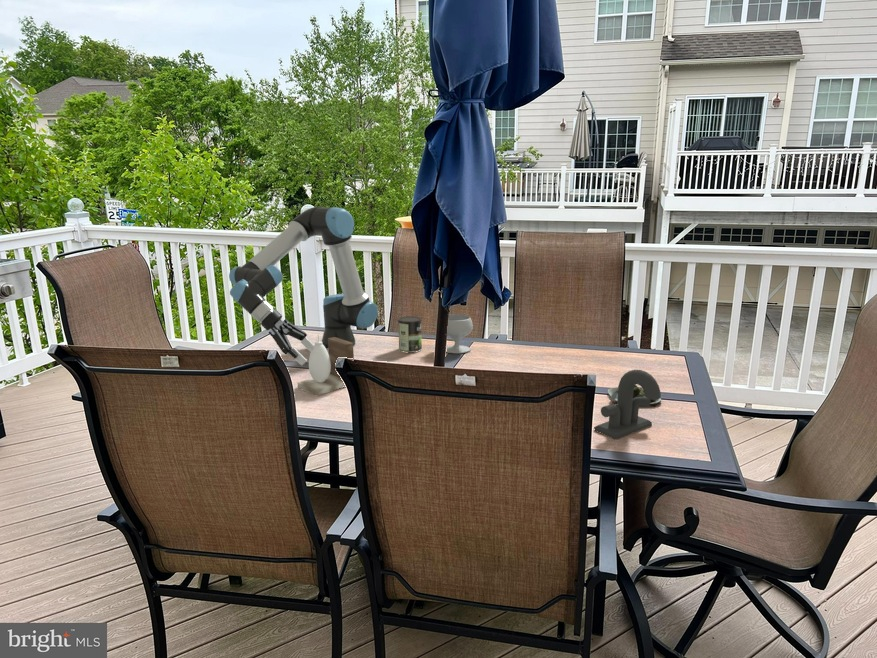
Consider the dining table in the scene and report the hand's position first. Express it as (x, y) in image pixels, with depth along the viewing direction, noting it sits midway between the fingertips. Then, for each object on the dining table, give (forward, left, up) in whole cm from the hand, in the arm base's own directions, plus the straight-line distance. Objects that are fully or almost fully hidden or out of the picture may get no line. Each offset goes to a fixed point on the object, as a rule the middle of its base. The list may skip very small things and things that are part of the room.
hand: (310, 357), depth 224 cm
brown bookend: (-5, +2, -12) cm, 13 cm away
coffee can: (-57, -11, -12) cm, 60 cm away
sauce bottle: (-2, +2, -10) cm, 10 cm away
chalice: (-71, +4, -12) cm, 72 cm away
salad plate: (-73, +88, -12) cm, 115 cm away
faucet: (-48, +102, -12) cm, 114 cm away
